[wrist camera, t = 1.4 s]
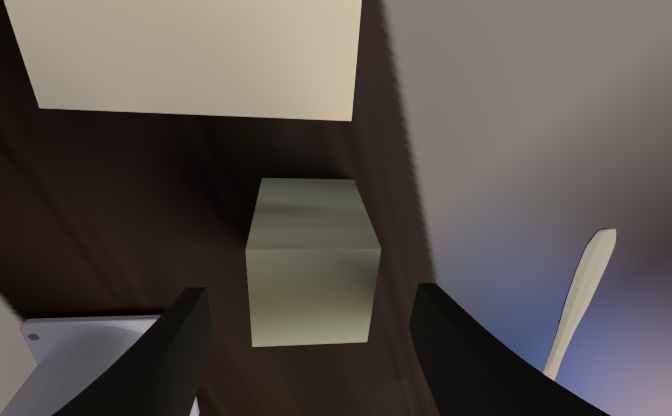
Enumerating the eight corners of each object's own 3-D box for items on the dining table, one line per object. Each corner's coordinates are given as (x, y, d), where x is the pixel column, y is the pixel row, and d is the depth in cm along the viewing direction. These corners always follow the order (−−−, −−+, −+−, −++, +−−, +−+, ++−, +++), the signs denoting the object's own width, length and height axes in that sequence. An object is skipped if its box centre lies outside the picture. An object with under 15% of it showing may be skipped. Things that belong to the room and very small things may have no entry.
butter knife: (640, 227, 20) (595, 233, 19) (528, 464, 32) (500, 471, 32) (630, 222, 20) (587, 228, 20) (524, 457, 33) (496, 464, 32)
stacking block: (346, 253, 18) (367, 341, 13) (265, 254, 18) (252, 346, 13) (353, 179, 16) (381, 248, 11) (262, 177, 16) (245, 250, 11)
